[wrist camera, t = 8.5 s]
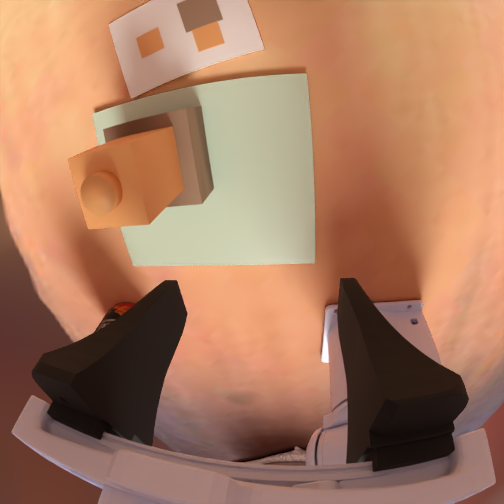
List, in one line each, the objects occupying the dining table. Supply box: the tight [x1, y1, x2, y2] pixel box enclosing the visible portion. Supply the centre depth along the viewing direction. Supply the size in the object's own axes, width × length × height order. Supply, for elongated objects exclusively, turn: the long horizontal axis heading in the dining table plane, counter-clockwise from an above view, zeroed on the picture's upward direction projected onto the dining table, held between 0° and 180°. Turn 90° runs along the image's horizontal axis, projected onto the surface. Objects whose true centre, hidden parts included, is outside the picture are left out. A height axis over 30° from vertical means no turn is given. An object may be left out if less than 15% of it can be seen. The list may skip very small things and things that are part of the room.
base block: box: [103, 106, 214, 207], centre depth 18 cm, size 6×6×3 cm
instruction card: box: [109, 0, 265, 99], centre depth 14 cm, size 10×7×1 cm
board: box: [92, 73, 315, 266], centre depth 20 cm, size 16×14×1 cm
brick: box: [68, 126, 184, 230], centre depth 14 cm, size 4×4×6 cm
